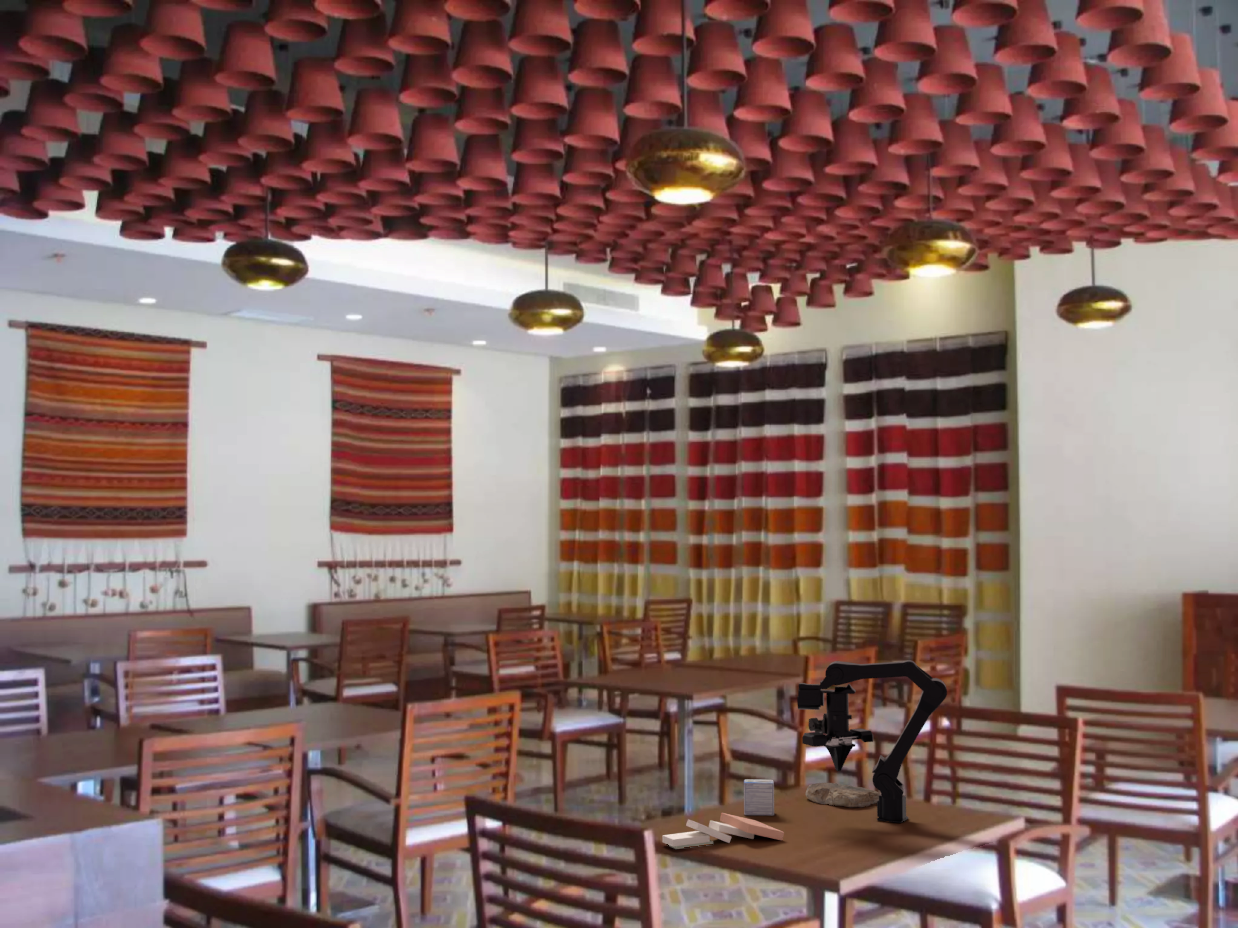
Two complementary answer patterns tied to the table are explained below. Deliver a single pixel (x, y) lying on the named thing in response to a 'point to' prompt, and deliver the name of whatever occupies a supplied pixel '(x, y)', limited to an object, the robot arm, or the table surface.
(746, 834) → the ivory domino
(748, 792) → the medicine box
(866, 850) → the table surface
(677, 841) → the ivory domino
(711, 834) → the ivory domino
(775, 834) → the terracotta tile
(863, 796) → the flat grey rock
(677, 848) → the sage domino
